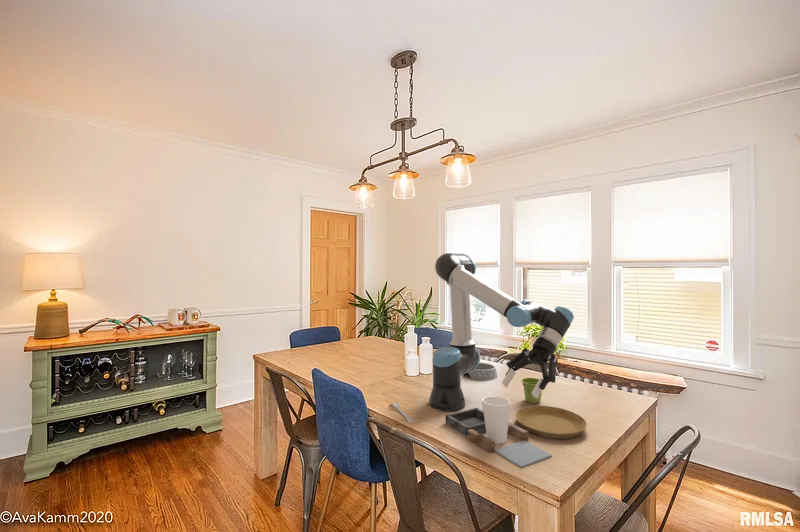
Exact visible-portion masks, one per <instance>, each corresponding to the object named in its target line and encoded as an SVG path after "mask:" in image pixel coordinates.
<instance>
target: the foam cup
mask: <svg viewBox="0 0 800 532" xmlns="http://www.w3.org/2000/svg"><path fill="white" fill-rule="evenodd" d="M511 402H512V401H511V400H510V399H508V398H507V397H503V396H499V395H498V396H497V395H489V396H484V397H482V398H481V406H482V411H483V412H484V419H485V426H486V432H485V433H486V437H487V438H489V439H490V440H492V441H494V442H495V444H503V443H504V444H505V443H506V442H507V437H508V433H507V431H508V423H509V422H510V415H511V409H512V405H511V404H512V403H511Z"/></svg>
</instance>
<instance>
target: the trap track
mask: <svg viewBox="0 0 800 532" xmlns="http://www.w3.org/2000/svg"><path fill="white" fill-rule="evenodd" d="M445 424H446V425H448V426H449V427H450V428H453V429H454V430H455V431H457V432H459V433H461V434H462V435H464V436H465V437H467V440H469V441H470V442H471V443H473V444H475V446H478V447H479V448H481V449H483V450H485V452H487V453H489V454H491V453H494V452H495V450H496V449H495V444H496V443H495V442H494V441H492V440H490V439H489V438H487V436H485V435H483V434H484V433H486V426H485V419H484V412H483V409H481V408H479V407H474V408H469V409H466V410H461V411H460V410H459V411H457V412H456V411H455V412H452V413H448V414H445ZM507 435H511V436H512V437H514V438H515V439H518V440H519V441H523V440H524V441H526V442H529V431H527V430H526V429H525V428H523V427H520V426H518V425H516V424H515V423H514V424H513V423H512V422H510V421H509V423H508V431H507Z"/></svg>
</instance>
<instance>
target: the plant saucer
mask: <svg viewBox="0 0 800 532" xmlns="http://www.w3.org/2000/svg"><path fill="white" fill-rule="evenodd" d="M514 417H515V419H516V421H517V423H518V424H519V425H520V426H521V428H522V429H524V430H526V431H528V433H529V432H530V433H532V434H534V435H537V436H540V437H544V438H549V439H555V440H557V439H558V440H559V439H561V440H563V439H571V438H575V437H577V436H579V435H581V433H583V432H584V431H585V429H586V428H587V425H588V424H587V421H586V419H585V418H584V417H582V416H581V415H579V414H577V413H575V412H573V411H571V410H567V409H564V408H561V407H556V406H548V405H530V406H525V407H522V408H519V409H518V410H516V412H515V415H514Z"/></svg>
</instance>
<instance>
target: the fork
mask: <svg viewBox="0 0 800 532" xmlns="http://www.w3.org/2000/svg"><path fill="white" fill-rule="evenodd" d="M390 405H391V406H393V408H396V409H397V410H398V412H399V413H400V414H402V416H403V417H404V418H405V420H406V421H407V422H408V423H414V422H415V420H414V419H413V417H410V416H409V415H407V414H406V413H405V412H403V411H402V410H401V408H400V407H401V404H400V403H398V402H395V403H394V402H393V403H390V404H389V406H390Z"/></svg>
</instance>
